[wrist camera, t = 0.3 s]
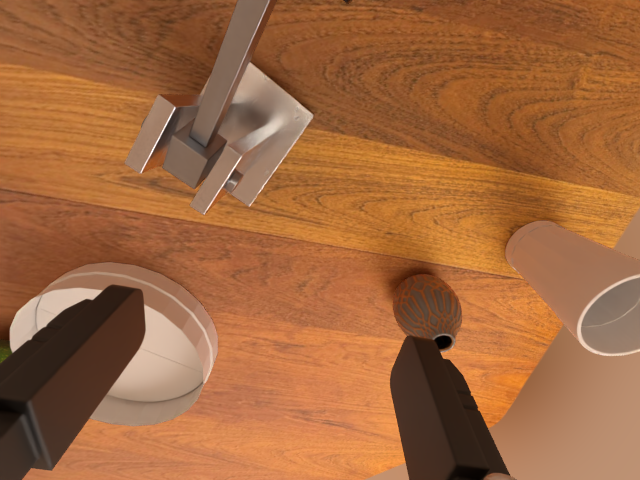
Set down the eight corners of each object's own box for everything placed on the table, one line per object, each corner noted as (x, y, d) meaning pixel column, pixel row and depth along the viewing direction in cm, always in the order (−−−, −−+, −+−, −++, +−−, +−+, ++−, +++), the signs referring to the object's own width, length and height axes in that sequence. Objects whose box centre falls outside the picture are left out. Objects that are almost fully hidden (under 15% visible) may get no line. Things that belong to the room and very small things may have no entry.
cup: (516, 207, 32) (614, 264, 21) (587, 219, 33) (718, 281, 22) (486, 271, 36) (557, 349, 25) (550, 281, 36) (648, 362, 25)
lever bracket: (231, 45, 26) (148, -1, 14) (314, 114, 29) (308, 129, 16) (173, 149, 30) (67, 187, 18) (251, 203, 32) (206, 271, 20)
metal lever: (239, -190, 10) (198, -214, 8) (379, -41, 11) (369, -35, 10) (157, 129, 19) (131, 147, 18) (238, 186, 21) (221, 208, 19)
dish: (185, 412, 47) (170, 446, 42) (31, 357, 42) (-4, 388, 38) (245, 311, 38) (235, 340, 34) (63, 229, 34) (22, 249, 29)
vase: (376, 298, 37) (391, 353, 29) (410, 255, 35) (436, 302, 27) (422, 320, 39) (447, 379, 31) (458, 280, 36) (496, 332, 28)
